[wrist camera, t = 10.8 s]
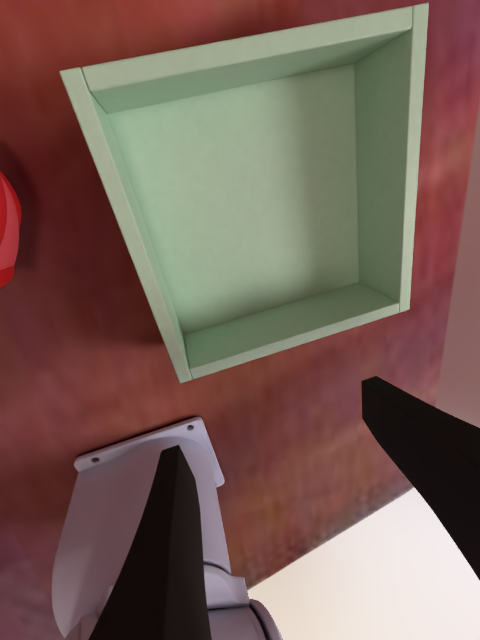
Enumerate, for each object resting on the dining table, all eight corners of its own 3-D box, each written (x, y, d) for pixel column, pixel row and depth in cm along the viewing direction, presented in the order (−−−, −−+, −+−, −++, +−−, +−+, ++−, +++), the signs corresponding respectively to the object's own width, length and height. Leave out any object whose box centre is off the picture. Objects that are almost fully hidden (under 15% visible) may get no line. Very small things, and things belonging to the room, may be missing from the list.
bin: (175, 344, 20) (179, 384, 16) (86, 101, 14) (58, 70, 10) (364, 286, 21) (409, 309, 18) (361, 46, 15) (429, 1, 11)
